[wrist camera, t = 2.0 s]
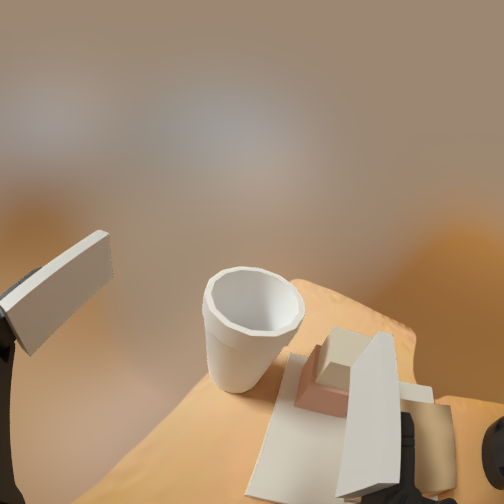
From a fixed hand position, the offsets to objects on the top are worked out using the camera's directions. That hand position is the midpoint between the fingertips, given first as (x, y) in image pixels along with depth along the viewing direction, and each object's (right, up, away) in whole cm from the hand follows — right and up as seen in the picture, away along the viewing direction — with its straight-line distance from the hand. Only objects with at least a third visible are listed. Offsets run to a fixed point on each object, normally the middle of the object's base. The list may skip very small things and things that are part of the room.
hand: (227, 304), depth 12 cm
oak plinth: (+18, -22, +9) cm, 30 cm away
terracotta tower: (+9, -15, +18) cm, 25 cm away
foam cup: (-1, -13, +20) cm, 24 cm away
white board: (+14, -21, +13) cm, 28 cm away
